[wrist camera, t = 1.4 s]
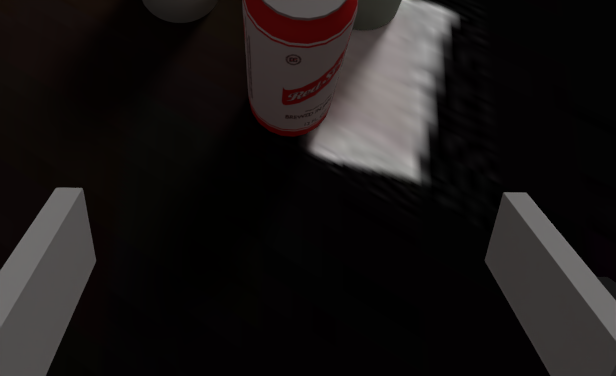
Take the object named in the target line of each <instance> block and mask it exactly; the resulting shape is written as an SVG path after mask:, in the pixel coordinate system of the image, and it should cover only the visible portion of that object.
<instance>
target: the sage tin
mask: <svg viewBox="0 0 616 376" xmlns="http://www.w3.org/2000/svg"><path fill="white" fill-rule="evenodd" d="M401 1H402V0H358V11H357V14H356V17H355V21H354V24H353V28H352V29H355V30H373V29H377V28H379V27H382V26H383V25H385V24H387V23H388V22H389V21H390V20H391V19H392V18H393V17H394V16H395V14H396V12H397V10H398V8H399V5H400V3H401Z"/></svg>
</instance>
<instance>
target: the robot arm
mask: <svg viewBox="0 0 616 376" xmlns="http://www.w3.org/2000/svg"><path fill="white" fill-rule="evenodd" d="M95 262H96V258H95V253H94V247H93V242H92V236H91V231H90V225H89V220H88V214H87V209H86V204H85V198H84V193H83V188H56V189H55V190H54V192H53V193H52V195H51V196H50V198H49V199H48V201H47V202H46V204H45V205H44V207H43V208H42V210H41V211H40V213H39V214H38V216H37V217H36V219H35V220H34V222H33V223H32V224H31V226H30V227H29V229H28V230H27V232H26V233H25V235H24V236H23V238H22V239H21V241H20V242H19V244H18V245H17V247H16V248H15V250H14V251H13V253H12V254H11V256H10V257H9V259H8V260H7V262H6V263H5V265H4V266H3V268H2V269H1V271H0V376H46V373H47V371H48V369H49V367H50V364H51V362H52V360H53V357H54V355H55V353H56V351H57V348H58V346H59V344H60V342H61V339H62V337H63V335H64V333H65V330H66V328H67V326H68V323H69V321H70V319H71V317H72V314H73V312H74V310H75V308H76V305H77V303H78V301H79V299H80V296H81V294H82V292H83V289H84V287H85V285H86V283H87V280H88V278H89V276H90V274H91V271H92V269H93V267H94V265H95ZM485 262H486V264H487V265H488V267H489V269H490V271H491V272H492V274H493V276H494V278H495V279H496V281H497V283H498V285H499V286H500V288H501V290H502V292H503V293H504V295H505V297H506V299H507V300H508V302H509V304H510V306H511V307H512V309H513V311H514V313H515V314H516V316H517V318H518V319H519V321H520V323H521V325H522V326H523V328H524V330H525V332H526V333H527V335H528V337H529V339H530V340H531V342H532V344H533V346H534V347H535V349H536V351H537V353H538V354H539V356H540V358H541V360H542V361H543V363H544V365H545V367H546V368H547V370H548V372H549V374H550V375H551V376H616V283H615V282H614V281H612V280H611V279H609V278H608V277H596V276H595V275H594V274H593V273H592V271H591V270H590V269H589V268H588V267H587V265H586V264H585V263H584V262H583V260H582V259H581V258H580V257H579V256H578V254H577V253H576V252H575V251H574V250H573V248H572V247H571V246H570V245H569V244H568V242H567V241H566V240H565V239H564V238H563V236H562V235H561V234H560V233H559V232H558V230H557V229H556V228H555V227H554V225H553V224H552V223H551V222H550V221H549V219H548V218H547V217H546V216H545V215H544V213H543V212H542V211H541V210H540V209H539V207H538V206H537V205H536V204H535V203H534V201H533V200H532V199H531V198H530V197H529V195H528V194H527V193H505V192H504V193H503V196H502V200H501V203H500V207H499V211H498V214H497V218H496V222H495V225H494V229H493V233H492V236H491V240H490V243H489V247H488V251H487V254H486V258H485Z"/></svg>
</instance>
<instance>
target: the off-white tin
mask: <svg viewBox="0 0 616 376" xmlns="http://www.w3.org/2000/svg"><path fill="white" fill-rule="evenodd" d="M142 1H143V3H144V5H145V6H146V8H147V9H148V10H149V11H150V12H151V13H152V14H153V15H155V16H156V17H158V18H160V19H162V20H165V21H168V22H173V23H187V22H192V21H195V20H198V19H200V18H202V17H204V16H205V15H207V14H208V13H209V12H210V11H211V10H212V9H213V8H214V7H215V5H216V4H217V2H218V0H142Z"/></svg>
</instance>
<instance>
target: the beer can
mask: <svg viewBox="0 0 616 376" xmlns="http://www.w3.org/2000/svg"><path fill="white" fill-rule="evenodd" d="M242 4H243V19H244V34H245V49H246V64H247V79H248V94H249V102H250V106H251V110H252V113H253V114H254V116H255V117H256V119H257V120H258V122H259V123H260V124H261V125H262V126H264V127H265V128H266V129H267V130H269V131H270V132H273V133H276V134H278V135H281V136H298V135H302V134H306V133H308V132H310V131H311V130H313V129H315V128H316V127H318V125H319V124H320V123H321V122H322V121H323V120H324V118H325V117H326V115H327V112H328V109H329V107H330V104H331V100H332V97H333V94H334V90H335V87H336V83H337V80H338V76H339V73H340V69H341V66H342V62H343V59H344V55H345V52H346V49H347V45H348V42H349V38H350V35H351V31H352V28H353V24H354V21H355V17H356V14H357V11H358V0H242Z"/></svg>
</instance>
